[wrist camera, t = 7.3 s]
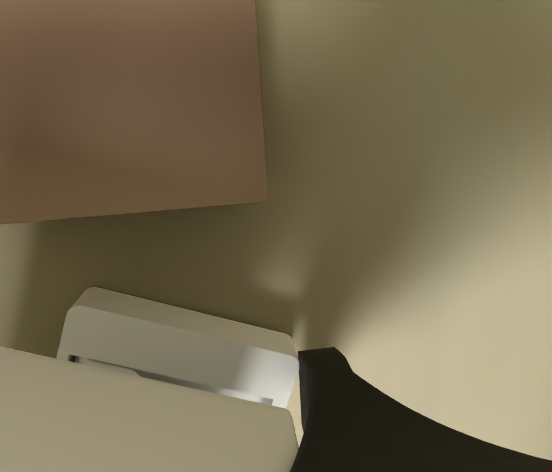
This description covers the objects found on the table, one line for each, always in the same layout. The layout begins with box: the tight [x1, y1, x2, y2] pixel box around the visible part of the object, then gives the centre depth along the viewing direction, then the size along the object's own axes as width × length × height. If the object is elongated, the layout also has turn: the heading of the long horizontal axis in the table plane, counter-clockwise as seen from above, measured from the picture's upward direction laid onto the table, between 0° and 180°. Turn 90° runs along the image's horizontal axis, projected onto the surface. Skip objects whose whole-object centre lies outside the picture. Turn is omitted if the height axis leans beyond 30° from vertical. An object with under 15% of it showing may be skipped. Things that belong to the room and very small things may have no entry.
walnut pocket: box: [0, 0, 268, 224], centre depth 11 cm, size 18×12×2 cm
